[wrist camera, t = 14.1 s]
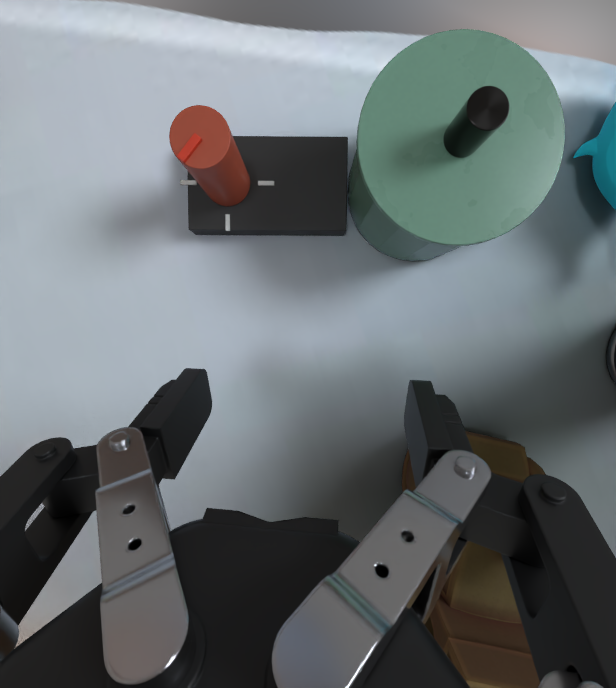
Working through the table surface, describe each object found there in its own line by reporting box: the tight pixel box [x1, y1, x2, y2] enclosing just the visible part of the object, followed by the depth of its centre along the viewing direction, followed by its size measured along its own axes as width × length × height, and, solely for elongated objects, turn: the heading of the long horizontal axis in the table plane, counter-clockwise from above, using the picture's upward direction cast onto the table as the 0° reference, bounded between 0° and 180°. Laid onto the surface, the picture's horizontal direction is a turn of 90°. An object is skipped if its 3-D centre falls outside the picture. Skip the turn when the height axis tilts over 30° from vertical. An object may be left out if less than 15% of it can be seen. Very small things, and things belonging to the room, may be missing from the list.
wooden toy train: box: [402, 431, 546, 688], centre depth 27 cm, size 20×11×17 cm, turn 167°
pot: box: [348, 150, 461, 261], centre depth 28 cm, size 13×13×10 cm
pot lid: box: [357, 29, 565, 246], centre depth 22 cm, size 14×14×5 cm
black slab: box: [180, 136, 348, 236], centre depth 32 cm, size 15×8×2 cm, turn 90°
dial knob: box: [169, 105, 250, 206], centre depth 27 cm, size 4×4×8 cm
